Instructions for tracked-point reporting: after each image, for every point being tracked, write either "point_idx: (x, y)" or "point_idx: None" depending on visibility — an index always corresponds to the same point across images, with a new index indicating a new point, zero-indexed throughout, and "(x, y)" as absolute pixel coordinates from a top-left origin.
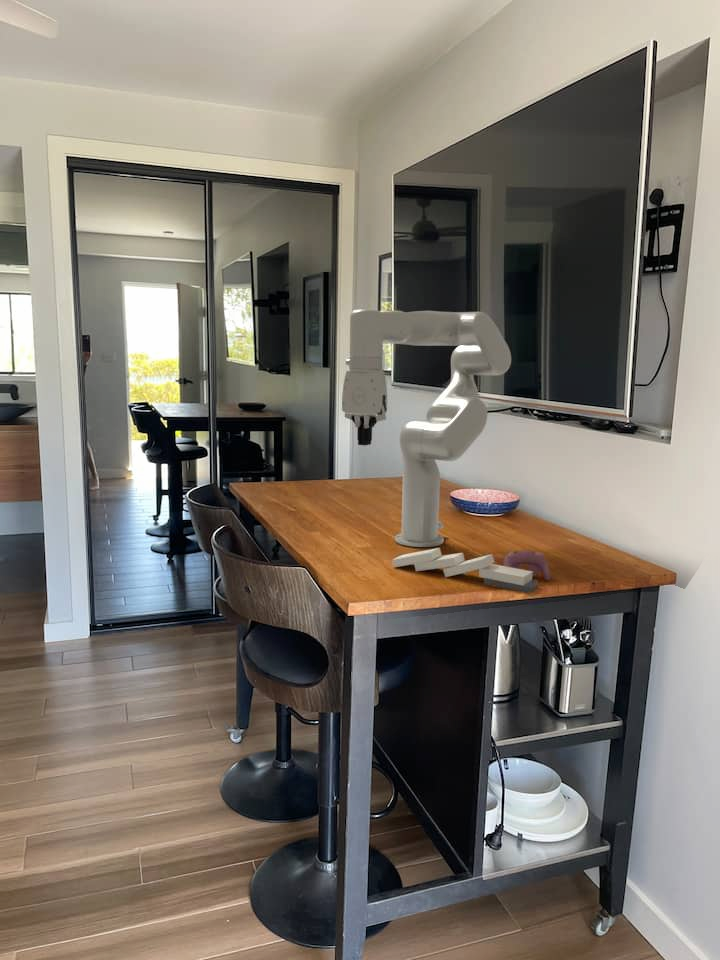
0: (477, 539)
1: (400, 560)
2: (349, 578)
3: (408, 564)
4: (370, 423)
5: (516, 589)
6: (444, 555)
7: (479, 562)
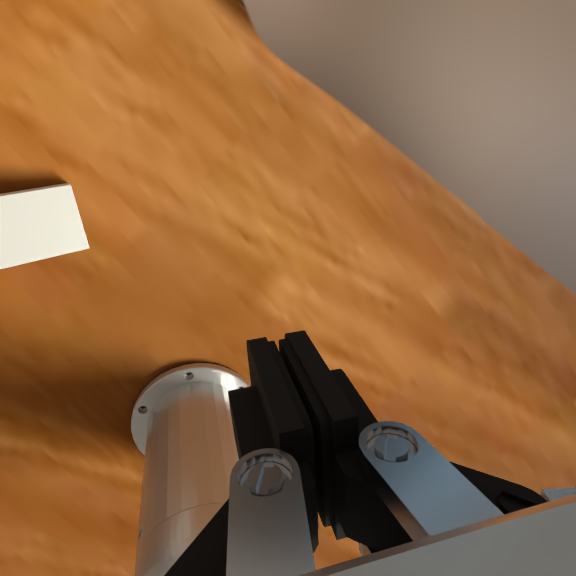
0: (106, 523)
1: (38, 189)
2: None
3: (11, 192)
4: (222, 538)
5: None
6: None
7: None
